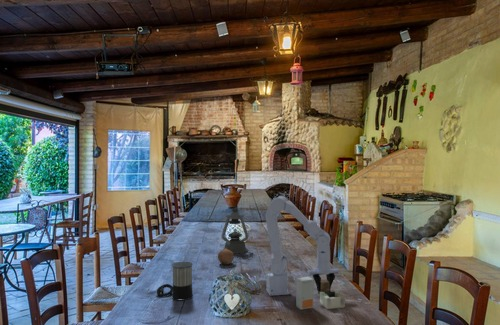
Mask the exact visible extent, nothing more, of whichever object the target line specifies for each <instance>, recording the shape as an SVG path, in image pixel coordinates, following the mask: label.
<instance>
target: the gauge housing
mask: <svg viewBox="0 0 500 325" xmlns="http://www.w3.org/2000/svg"><path fill="white" fill-rule="evenodd" d="M334 291H335V297H331V298H330V297H328V295H327V294H326V293H324V292H320V295H319V303H320V305H322V306H323V307H324V308H325V309H326V310H330V309H341V308H343V309H344V308H345V306H346V303H345V302H346V298H345V296H344V295H342V294H341V293H340V292H339V291H338V290H334Z"/></svg>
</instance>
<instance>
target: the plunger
mask: <svg viewBox="0 0 500 325" xmlns="http://www.w3.org/2000/svg"><path fill="white" fill-rule="evenodd" d="M335 291H336V290H332V291H331V290H330V291H323V292H324V293H326V294H327V295H328V297H330V298H331V297H335Z"/></svg>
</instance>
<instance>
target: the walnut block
mask: <svg viewBox="0 0 500 325" xmlns="http://www.w3.org/2000/svg"><path fill="white" fill-rule="evenodd" d="M323 291H331V289H330V282H329V281H327V279H321V283H320V292H323ZM320 292H319V291H318V290H317V295H319V296H320Z"/></svg>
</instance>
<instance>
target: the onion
mask: <svg viewBox="0 0 500 325" xmlns="http://www.w3.org/2000/svg"><path fill="white" fill-rule="evenodd" d="M224 248H225V247H224ZM224 248H223V249H222V250H220V251H219V252H218V254H217V258H218V262H219V263H220V264H222V265H224V266H227V265H230V264H231V263H233V262H234V257H235V256H234V255H235V254H233V252H232V251H230V250H228V249H227V248H225V249H224Z"/></svg>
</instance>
